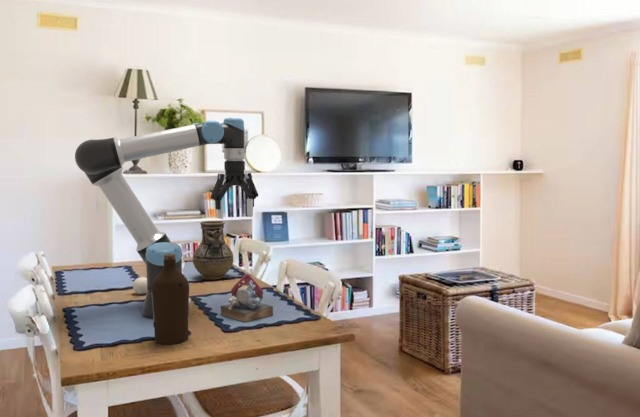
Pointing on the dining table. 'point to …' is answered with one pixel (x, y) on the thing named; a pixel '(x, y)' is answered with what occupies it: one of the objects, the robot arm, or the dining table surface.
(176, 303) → the olive oil
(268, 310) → the stand
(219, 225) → the decorative pitcher
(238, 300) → the brake caliper
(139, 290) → the baseball
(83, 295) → the dining table surface
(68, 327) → the dining table surface
